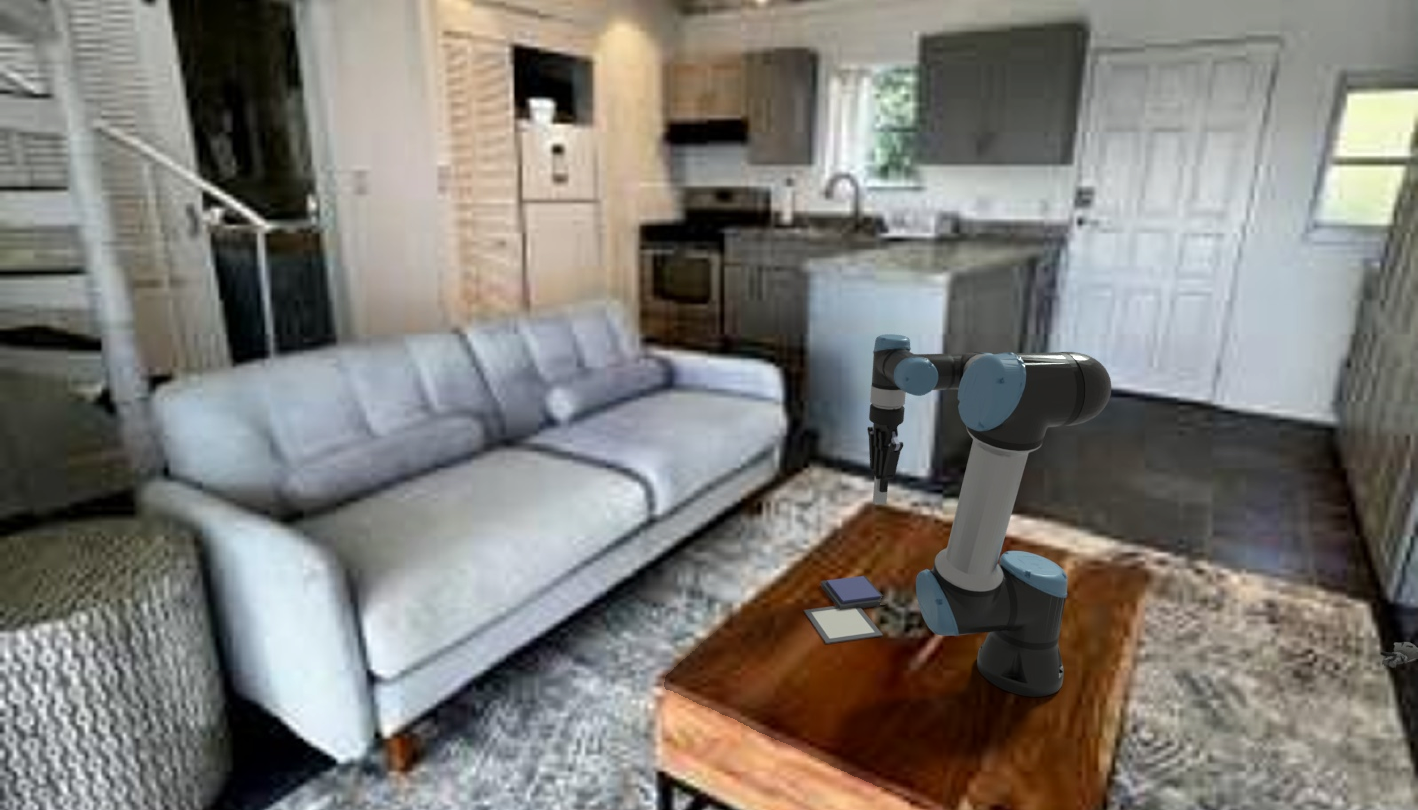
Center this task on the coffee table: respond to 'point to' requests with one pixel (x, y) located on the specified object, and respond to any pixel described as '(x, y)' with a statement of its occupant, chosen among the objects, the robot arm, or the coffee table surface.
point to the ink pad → (852, 592)
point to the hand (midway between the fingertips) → (879, 503)
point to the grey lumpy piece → (1400, 654)
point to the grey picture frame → (842, 624)
